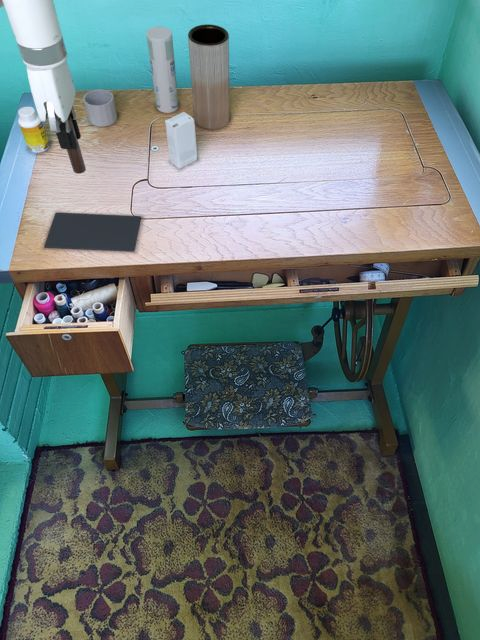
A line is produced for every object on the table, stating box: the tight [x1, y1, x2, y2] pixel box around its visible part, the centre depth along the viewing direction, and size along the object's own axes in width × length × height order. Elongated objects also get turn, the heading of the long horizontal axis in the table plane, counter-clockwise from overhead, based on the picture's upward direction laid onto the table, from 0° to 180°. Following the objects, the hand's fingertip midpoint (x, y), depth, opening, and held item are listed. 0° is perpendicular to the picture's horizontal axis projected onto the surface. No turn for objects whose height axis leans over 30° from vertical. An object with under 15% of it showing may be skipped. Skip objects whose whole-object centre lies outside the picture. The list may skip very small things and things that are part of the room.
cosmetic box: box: [164, 111, 198, 170], centre depth 131 cm, size 6×4×12 cm
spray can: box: [145, 26, 179, 114], centre depth 141 cm, size 6×6×20 cm
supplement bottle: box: [17, 106, 50, 154], centre depth 133 cm, size 6×6×10 cm
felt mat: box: [43, 212, 142, 253], centre depth 121 cm, size 20×11×1 cm, turn 89°
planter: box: [187, 23, 231, 130], centre depth 137 cm, size 10×10×23 cm
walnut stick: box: [58, 115, 87, 175], centre depth 105 cm, size 3×3×12 cm
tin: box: [82, 88, 118, 128], centre depth 142 cm, size 8×8×6 cm
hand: (71, 142), depth 105 cm, fingers closed on walnut stick, 2 cm apart
